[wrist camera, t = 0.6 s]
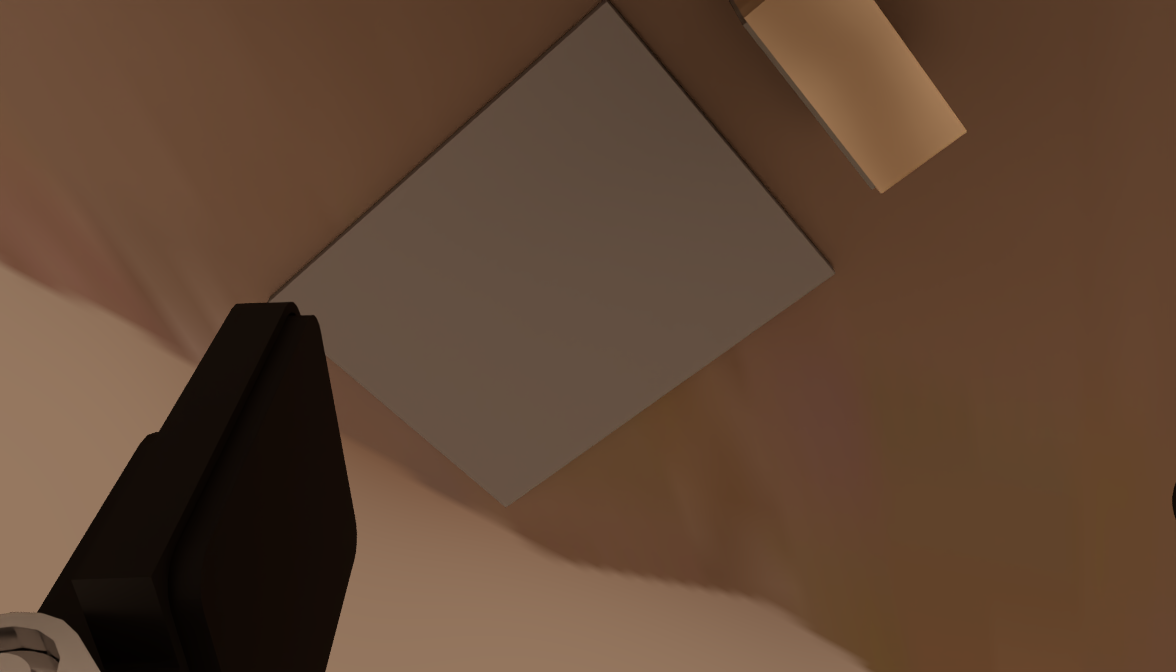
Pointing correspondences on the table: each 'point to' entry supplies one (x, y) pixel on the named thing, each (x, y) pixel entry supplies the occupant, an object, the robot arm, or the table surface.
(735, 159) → the rubber mat
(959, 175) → the table surface
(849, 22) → the birch tile
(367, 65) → the table surface
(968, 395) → the table surface
